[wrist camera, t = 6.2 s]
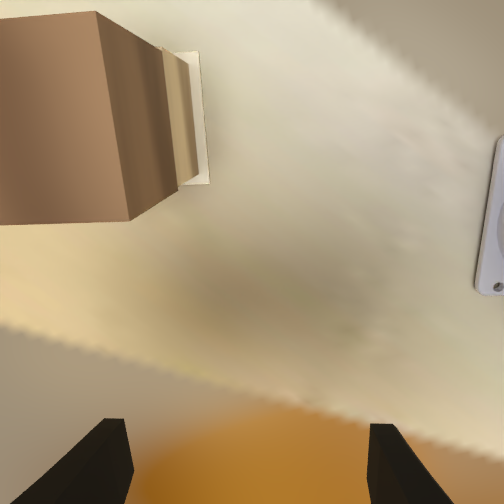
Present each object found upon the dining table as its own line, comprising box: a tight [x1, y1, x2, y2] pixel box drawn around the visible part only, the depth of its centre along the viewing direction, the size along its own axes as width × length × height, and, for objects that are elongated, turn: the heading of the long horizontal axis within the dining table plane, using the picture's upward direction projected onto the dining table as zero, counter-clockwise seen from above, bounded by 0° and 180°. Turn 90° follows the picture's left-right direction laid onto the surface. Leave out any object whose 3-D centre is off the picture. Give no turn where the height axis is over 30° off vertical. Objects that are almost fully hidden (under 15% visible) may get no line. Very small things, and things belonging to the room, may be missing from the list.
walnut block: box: [0, 11, 178, 225], centre depth 12 cm, size 5×5×5 cm
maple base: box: [156, 47, 199, 186], centre depth 16 cm, size 5×5×4 cm
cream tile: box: [172, 51, 210, 185], centre depth 18 cm, size 6×6×1 cm
